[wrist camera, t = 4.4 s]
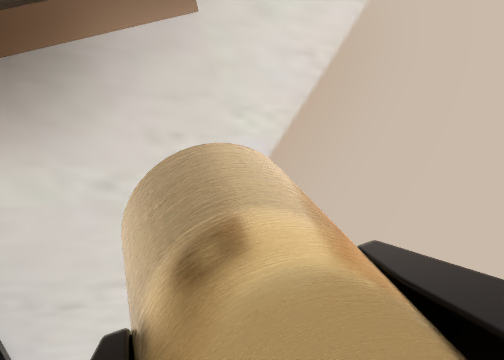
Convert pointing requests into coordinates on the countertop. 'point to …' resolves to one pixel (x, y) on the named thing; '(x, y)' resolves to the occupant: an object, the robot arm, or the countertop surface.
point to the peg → (255, 271)
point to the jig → (78, 20)
